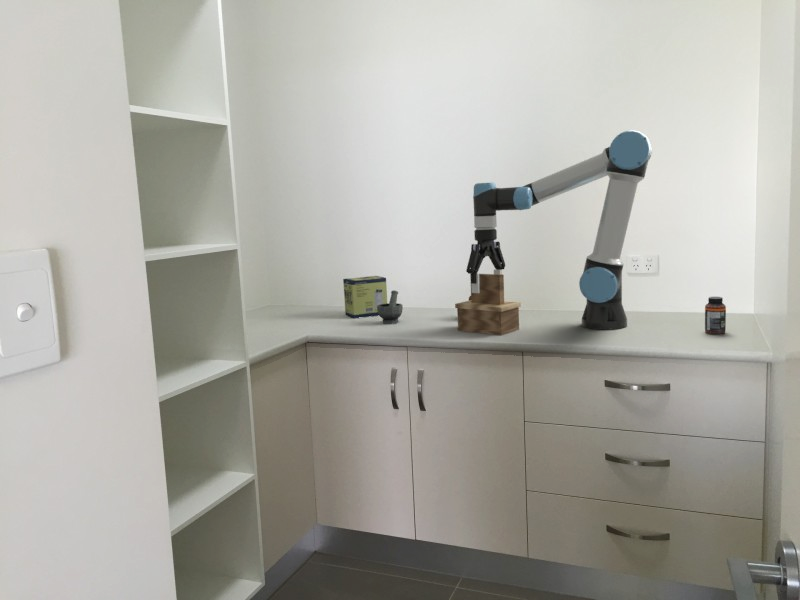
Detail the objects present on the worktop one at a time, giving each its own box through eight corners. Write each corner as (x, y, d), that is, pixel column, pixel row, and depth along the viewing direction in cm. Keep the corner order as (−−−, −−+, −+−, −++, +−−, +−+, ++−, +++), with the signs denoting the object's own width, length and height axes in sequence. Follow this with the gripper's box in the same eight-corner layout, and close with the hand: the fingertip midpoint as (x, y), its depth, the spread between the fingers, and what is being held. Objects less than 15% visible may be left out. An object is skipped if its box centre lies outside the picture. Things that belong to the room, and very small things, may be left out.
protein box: (344, 315, 282) (342, 278, 280) (378, 311, 289) (376, 275, 287) (353, 318, 273) (351, 280, 271) (388, 314, 279) (386, 277, 277)
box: (519, 329, 233) (518, 306, 232) (501, 335, 225) (501, 311, 224) (476, 325, 245) (475, 303, 244) (458, 330, 237) (457, 308, 236)
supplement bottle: (707, 330, 217) (708, 295, 215) (727, 331, 213) (728, 296, 212) (702, 333, 212) (702, 298, 211) (722, 335, 209) (723, 299, 207)
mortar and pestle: (396, 325, 253) (394, 293, 251) (373, 324, 257) (372, 293, 255) (408, 320, 263) (406, 289, 261) (386, 319, 267) (385, 289, 265)
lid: (520, 308, 232) (519, 273, 230) (501, 314, 223) (500, 277, 222) (475, 305, 245) (474, 271, 243) (455, 310, 236) (454, 275, 234)
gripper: (496, 226, 242) (497, 285, 245) (454, 230, 223) (456, 294, 226) (514, 226, 237) (515, 286, 240) (473, 230, 218) (475, 295, 221)
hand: (487, 290), depth 233 cm, fingers open, 13 cm apart
